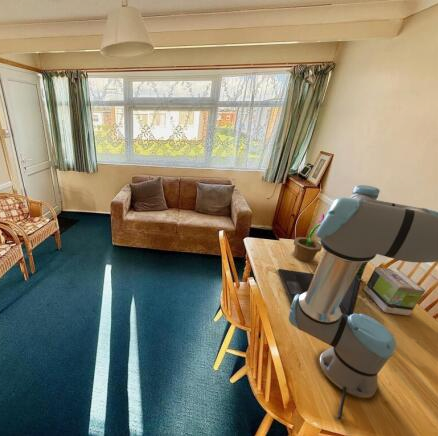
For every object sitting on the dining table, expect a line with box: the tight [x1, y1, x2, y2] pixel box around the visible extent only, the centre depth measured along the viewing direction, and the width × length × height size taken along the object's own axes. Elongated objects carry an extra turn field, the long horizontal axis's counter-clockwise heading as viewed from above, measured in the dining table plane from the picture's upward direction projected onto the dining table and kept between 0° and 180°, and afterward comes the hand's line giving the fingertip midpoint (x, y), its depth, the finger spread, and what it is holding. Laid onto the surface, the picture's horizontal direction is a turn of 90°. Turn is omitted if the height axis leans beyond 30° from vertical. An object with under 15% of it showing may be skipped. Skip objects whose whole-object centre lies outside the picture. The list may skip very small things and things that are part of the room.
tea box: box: [363, 266, 426, 316], centre depth 106 cm, size 15×10×15 cm
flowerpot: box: [293, 213, 325, 263], centre depth 135 cm, size 14×14×30 cm
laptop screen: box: [340, 275, 362, 316], centre depth 107 cm, size 21×30×1 cm
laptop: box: [277, 268, 347, 315], centre depth 114 cm, size 21×30×2 cm
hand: (332, 267), depth 105 cm, fingers closed
